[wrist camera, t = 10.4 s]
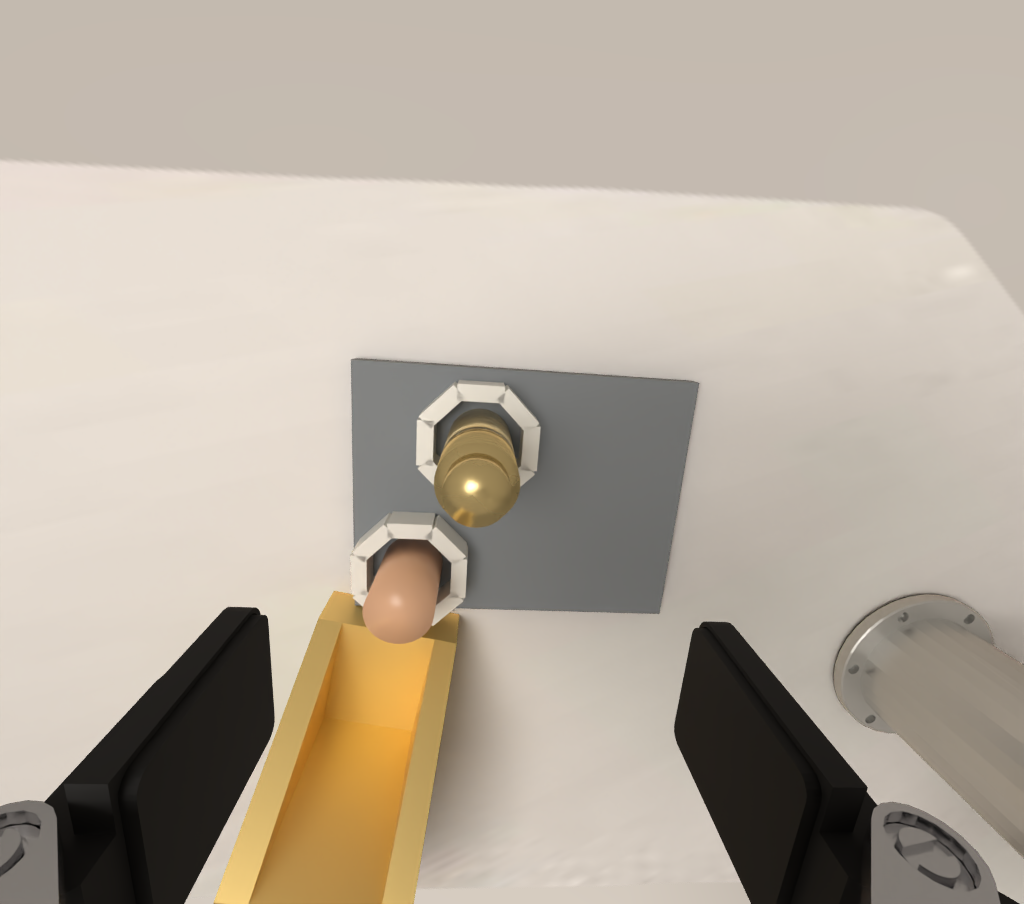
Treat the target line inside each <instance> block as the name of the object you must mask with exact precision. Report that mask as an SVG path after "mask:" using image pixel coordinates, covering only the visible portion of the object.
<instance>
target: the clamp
mask: <svg viewBox="0 0 1024 904" xmlns="http://www.w3.org/2000/svg"><path fill="white" fill-rule="evenodd" d="M353 596H354V595H351V594H348V593H343V592H338V591H334V592H333V593H332V595H331V597H330V599H329V601H328V602H327V604H326V606H325V608H324V610H323V611H322V613H321V615H320V617H319V619H318V621H317V624H316V627H315V629H314V632H313V635H312V638H311V640H310V643H309V646H308V648H307V651H306V654H305V656H304V659H303V662H302V665H301V667H300V670H299V673H298V675H297V678H296V681H295V684H294V686H293V689H292V692H291V694H290V697H289V700H288V702H287V705H286V708H285V711H284V713H283V716H282V719H281V721H280V724H279V727H278V730H277V732H276V735H275V738H274V740H273V743H272V746H271V749H270V751H269V754H268V757H267V759H266V762H265V765H264V767H263V770H262V773H261V776H260V778H259V781H258V784H257V786H256V789H255V792H254V795H253V797H252V800H251V803H250V805H249V808H248V811H247V814H246V816H245V819H244V822H243V824H242V827H241V830H240V832H239V835H238V838H237V841H236V843H235V846H234V849H233V851H232V854H231V857H230V860H229V862H228V865H227V868H226V870H225V873H224V876H223V878H222V881H221V884H220V887H219V889H218V892H217V895H216V897H215V900H214V904H414V898H415V892H416V886H417V880H418V874H419V868H420V862H421V856H422V850H423V844H424V838H425V832H426V826H427V820H428V814H429V808H430V802H431V796H432V790H433V784H434V778H435V772H436V766H437V760H438V754H439V748H440V742H441V736H442V730H443V724H444V718H445V712H446V706H447V700H448V694H449V688H450V682H451V676H452V670H453V664H454V658H455V652H456V646H457V636H458V623H459V614H454V613H448V614H447V615H446V616H445V617H443V618H442V619H441V620H440V621H439V622H437V623H436V624H435V625H434V626H432V625H431V627H430V629H429V630H428V631H427V633H426V634H424V635H423V636H422V637H421V638H419V639H417V640H415V641H413V642H410V643H405V644H393V643H388V642H385V641H383V640H380V639H379V638H377V637H376V636H374V635H373V634H372V633H371V632H370V631H369V630H368V628H367V627H366V625H365V622H364V619H363V613H362V612H363V607H362V606H359V605H355V600H354V599H353Z"/></svg>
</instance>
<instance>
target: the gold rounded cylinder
mask: <svg viewBox="0 0 1024 904" xmlns="http://www.w3.org/2000/svg"><path fill="white" fill-rule="evenodd" d="M434 490H435V495H436V498H437V500H438V502H439V504H440V505H441V507H442V508H443V509H444V510H445V511H446V512H447V513H448V514H449V515H450V517H451V518H452V519H454V520H455V521H456V522H458V523H460V524H462V525H464V526H467V527H473V528H481V527H486V526H489V525H492V524H494V523H495V522H497V521H498V520H500V519H501V518H502V517H503V516H504V515H505V514H506V513H508V512H509V511H510V509H511V508H512V507H513V506H514V504H515V502H516V500H517V498H518V495H519V492H520V475H519V471H518V466H517V462H516V458H515V453H514V449H513V445H512V440H511V436H510V432H509V429H508V426H507V424H506V423H505V421H504V420H503V419H502V418H501V417H500V416H499V415H498V414H496V413H494V412H492V411H490V410H486V409H472V410H469V411H466V412H464V413H462V414H461V415H460V416H458V417H457V418H456V419H455V421H454V422H453V424H452V426H451V428H450V431H449V434H448V437H447V440H446V442H445V445H444V448H443V451H442V454H441V457H440V460H439V463H438V466H437V469H436V472H435V476H434Z"/></svg>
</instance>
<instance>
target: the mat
mask: <svg viewBox="0 0 1024 904" xmlns="http://www.w3.org/2000/svg"><path fill="white" fill-rule="evenodd" d="M459 380H469V381H485V382H500V383H504V385H505V386H506V385H508V386H509V387H510V388H511V389H512V390H513V392H514V393H515V394H516V395H517V396H518V397H519V398H520V400H521V401H522V402H523V403H524V404H525V405H526V407H527V408H528V409H529V410H530V411H531V412H532V413H533V415H534V416H535V417H536V418H537V420H538V422H539V425H540V427H541V429H540V440H539V451H538V462H537V471H534V474H535V475H534V476H533V477H532V478H530V479H529V480H528V481H527V482H526V483H524V484H523V485H522V486H521V487H520V492H519V495H518V498H517V500H516V502H515V504H514V506H513V507H512V508H511V509H510V511H509V512H508V513H506V514H505V515H504V516H503V517H502V518H501V519H500V520H498V521H497V522H495V523H494V524H492V525H489V526H486V527H481V528H473V527H467V526H464V525H462V524H460V523H458V522H456V521H455V520H454V519H452V518H451V517H450V515H449V514H448V513H447V512H446V511H445V510H444V509H443V508H442V507H441V505H440V504H439V502H438V500H437V498H436V495H435V490H434V485H433V484H432V483H431V482H430V481H429V480H428V479H427V478H426V477H425V476H424V475H423V474H422V473H421V472H420V471H419V470H418V467H419V465H416V441H417V419H418V418H419V415H420V414H421V412H422V411H423V410H424V409H425V408H426V407H427V406H428V405H429V404H430V403H432V402H433V401H434V400H435V399H436V398H437V397H438V396H439V395H440V394H442V393H443V392H444V391H445V390H446V389H447V388H448V387H449V386H451V385H452V384H453V383H454V382H455V381H456V382H457V383H458V381H459ZM698 386H699V383H697V382H694V381H686V380H671V379H656V378H642V377H627V376H612V375H597V374H582V373H567V372H552V371H538V370H523V369H508V368H493V367H478V366H463V365H448V364H433V363H419V362H404V361H389V360H374V359H359V358H355V359H351V391H352V457H353V522H354V548H355V546H356V544H357V542H358V541H359V539H360V538H361V537H362V536H363V535H364V534H366V533H367V532H368V531H369V530H370V529H371V528H372V527H374V526H375V525H376V524H377V523H378V522H379V521H380V520H382V519H383V518H384V517H385V516H386V515H387V514H388V513H391V514H392V513H393V511H397V512H421V513H435V517H437V516H438V515H440V516H441V517H442V518H443V519H444V520H445V521H446V522H447V523H448V524H449V525H450V526H451V527H452V528H453V529H454V530H455V531H456V532H457V533H458V534H459V535H460V536H461V537H462V538H463V539H464V540H465V541H466V542H467V546H468V558H467V577H466V594H465V598H464V601H463V602H462V603H461V604H459V605H458V606H457V607H456V608H468V609H504V610H541V611H577V612H614V613H650V614H659V613H660V607H661V601H662V595H663V590H664V584H665V578H666V572H667V566H668V561H669V555H670V549H671V543H672V537H673V532H674V526H675V520H676V514H677V508H678V502H679V497H680V491H681V485H682V479H683V473H684V468H685V462H686V456H687V450H688V444H689V439H690V433H691V427H692V421H693V415H694V410H695V404H696V398H697V392H698ZM472 409H486V410H490V411H492V412H494V413H496V414H498V415H499V416H500V417H501V418H502V419H503V420H504V421H505V423H506V424H507V426H508V429H509V432H510V436H511V440H512V445H513V449H514V453H515V458H516V459H517V458H518V457H519V446H520V433H521V427H520V426H519V425H518V424H517V422H516V421H515V420H514V419H513V418H512V417H511V416H510V415H509V413H508V412H507V411H506V410H505V409H504V408H503V407H502V406H501V404H500V403H487V402H471V401H461V402H460V403H459V404H458V405H456V406H455V407H454V408H453V409H452V410H451V411H450V412H449V413H447V414H446V415H445V416H444V417H443V418H442V419H441V420H440V421H438V422H437V432H436V454H437V455H438V456H439V457H441V454H442V451H443V448H444V445H445V442H446V440H447V437H448V434H449V431H450V428H451V426H452V424H453V422H454V421H455V419H456V418H457V417H458V416H460V415H461V414H462V413H464V412H466V411H469V410H472ZM396 540H397V538H392V539H390V540H389V541H388V542H387V543H386V544H385V545H383V546H382V547H381V548H380V549H379V550H378V551H376V552H375V553H374V554H373V569H374V576H376V574H377V572H378V569H379V567H380V564H381V562H382V560H383V557H384V555H385V553H386V551H387V549H388V547H389V546H390V545H391V544H392V543H393V542H394V541H396ZM440 553H441V552H440ZM441 555H442V561H443V564H442V571H441V577H440V583H439V589H440V588H441V587H442V586H443V585H444V584H446V583H447V582H448V581H449V580H450V579H451V565H452V563H451V562H450V561H449V560H448V559H447V558H446V557H445V556H444V555H443V554H442V553H441ZM355 605H359V606H361V605H360V604H359V603H358V602H357V601H356V600H355Z"/></svg>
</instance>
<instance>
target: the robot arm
mask: <svg viewBox="0 0 1024 904" xmlns="http://www.w3.org/2000/svg"><path fill="white" fill-rule="evenodd" d="M834 687H835V691H836V694H837V697H838V699H839V701H840V702H841V704H842V705H843V707H844V708H845V709H846V710H847V711H848V712H849V713H850V714H851V715H852V716H853V717H854V719H855V720H857V721H858V722H859V723H861V724H862V725H864V726H865V727H868V728H870V729H873V730H875V731H879V732H885V733H897V734H898V735H899V736H900V737H901V738H902V739H903V740H904V741H905V742H906V743H907V744H908V745H909V746H910V747H911V748H912V749H913V750H914V751H915V752H916V753H917V754H918V755H919V756H920V757H921V758H922V759H923V760H924V761H925V762H926V763H927V764H928V765H929V766H930V767H931V768H932V769H933V770H934V771H935V772H936V773H937V774H938V775H939V776H940V777H941V778H943V779H944V780H945V781H946V782H947V783H948V784H949V785H950V786H951V787H952V788H953V789H954V790H955V791H956V792H957V793H958V794H959V795H960V796H961V797H962V798H963V799H964V800H965V801H966V802H967V803H968V804H969V805H970V806H971V807H972V808H973V809H974V810H975V811H976V812H977V813H978V814H979V815H980V816H981V817H982V818H983V819H984V820H985V821H986V822H987V823H988V824H989V825H990V826H991V827H992V828H993V829H994V830H995V831H996V832H997V833H998V834H999V835H1000V836H1001V837H1002V838H1003V839H1005V840H1006V841H1007V842H1008V843H1009V844H1010V845H1011V846H1012V847H1013V848H1014V849H1015V850H1016V851H1017V852H1018V853H1019V854H1020V855H1021V856H1022V857H1023V858H1024V664H1021V663H1020V662H1018V661H1017V660H1015V659H1013V658H1012V657H1010V656H1009V655H1007V654H1005V653H1004V652H1002V651H1001V650H999V649H997V648H996V647H994V642H993V637H992V633H991V630H990V628H989V626H988V624H987V622H986V621H985V620H984V619H983V618H982V617H981V616H980V614H979V613H978V612H976V611H974V610H973V609H971V608H970V607H968V606H966V605H965V604H963V603H961V602H959V601H957V600H955V599H953V598H950V597H946V596H941V595H928V594H924V595H917V596H910V597H906V598H903V599H900V600H897V601H894V602H892V603H890V604H888V605H886V606H884V607H881V608H880V609H878V610H877V611H875V612H874V613H872V614H871V615H869V616H868V617H866V618H865V619H864V620H863V621H862V622H861V623H860V624H859V625H858V626H857V627H856V628H855V629H854V630H853V631H852V633H851V634H850V635H849V636H848V638H847V639H846V641H845V643H844V644H843V646H842V648H841V650H840V652H839V655H838V658H837V660H836V663H835V670H834ZM273 727H274V702H273V687H272V672H271V657H270V641H269V626H268V618H267V616H265V615H260V611H259V609H257V608H249V607H227V608H226V609H225V610H223V611H222V612H221V614H220V615H219V616H218V617H217V618H216V619H215V620H214V621H213V622H212V623H211V624H210V625H209V627H208V628H207V629H206V630H205V631H204V632H203V633H202V634H201V635H200V636H199V637H198V639H197V640H196V641H195V642H194V643H193V644H192V645H191V646H190V647H189V648H188V649H187V650H186V652H185V653H184V654H183V655H182V656H181V657H180V658H179V659H178V660H177V661H176V662H175V664H174V665H173V666H172V667H171V668H170V669H169V670H168V671H167V672H166V673H165V674H164V675H163V676H162V677H161V678H160V679H158V680H157V681H156V682H155V683H154V684H153V685H152V686H151V687H150V688H149V690H148V691H147V692H146V693H145V694H144V695H143V696H142V697H141V698H140V699H139V700H138V701H137V703H136V704H135V705H134V706H133V707H132V708H131V709H130V710H129V711H128V712H127V713H126V714H125V715H124V717H123V718H122V719H121V720H120V721H119V722H118V723H117V724H116V725H115V726H114V727H113V728H112V729H111V731H110V732H109V733H108V734H107V735H106V736H105V737H104V738H103V739H102V740H101V741H100V742H99V744H98V745H97V746H96V747H95V748H94V749H93V750H92V751H91V752H90V753H89V754H88V755H87V756H86V758H85V759H84V760H83V761H82V762H81V763H80V764H79V765H78V766H77V767H76V768H75V769H74V771H73V772H72V773H71V774H70V775H69V776H68V777H67V778H66V779H65V780H64V781H63V782H62V783H61V785H60V786H59V787H58V788H57V789H56V790H55V791H54V792H53V793H52V794H51V795H50V796H49V798H48V799H47V800H46V801H45V802H42V801H30V800H27V801H21V802H15V803H9V804H6V805H3V806H0V904H184V903H185V901H186V899H187V897H188V895H189V893H190V891H191V889H192V888H193V886H194V884H195V882H196V880H197V878H198V876H199V874H200V872H201V870H202V868H203V866H204V864H205V863H206V861H207V859H208V857H209V855H210V853H211V851H212V849H213V847H214V845H215V843H216V841H217V840H218V838H219V836H220V834H221V832H222V830H223V828H224V826H225V824H226V822H227V820H228V818H229V816H230V815H231V813H232V811H233V809H234V807H235V805H236V803H237V801H238V799H239V797H240V795H241V793H242V792H243V790H244V788H245V786H246V784H247V782H248V780H249V778H250V776H251V774H252V772H253V770H254V768H255V767H256V765H257V763H258V761H259V759H260V757H261V755H262V753H263V751H264V749H265V747H266V745H267V744H268V742H269V740H270V737H271V735H272V732H273ZM674 732H675V738H676V741H677V744H678V746H679V749H680V751H681V753H682V755H683V757H684V759H685V762H686V764H687V766H688V768H689V770H690V772H691V775H692V777H693V779H694V781H695V783H696V785H697V788H698V790H699V792H700V794H701V796H702V798H703V800H704V803H705V805H706V807H707V809H708V811H709V813H710V816H711V818H712V820H713V822H714V824H715V826H716V829H717V831H718V833H719V835H720V837H721V839H722V842H723V844H724V846H725V848H726V850H727V852H728V855H729V857H730V859H731V861H732V863H733V865H734V868H735V870H736V872H737V874H738V876H739V878H740V881H741V883H742V885H743V887H744V889H745V891H746V893H747V896H748V898H749V900H750V902H751V904H1019V903H1017V902H1016V901H1014V900H1012V899H1010V898H1009V897H1007V896H1005V895H1004V894H1002V893H1000V892H998V891H997V887H996V883H995V880H994V878H993V876H992V873H991V871H990V869H989V867H988V866H987V864H986V863H985V862H984V860H983V859H982V857H981V856H980V855H979V853H978V852H977V851H976V850H975V849H974V848H973V847H972V846H971V845H970V844H969V843H968V842H967V841H966V840H965V839H964V838H963V837H962V836H961V835H959V834H958V833H957V832H955V831H954V830H953V829H951V828H950V827H949V826H948V825H946V824H945V823H944V822H942V821H940V820H938V819H937V818H935V817H933V816H932V815H930V814H928V813H926V812H924V811H922V810H919V809H917V808H914V807H912V806H909V805H906V804H901V803H896V802H888V803H881V804H880V805H877V804H876V803H875V802H874V801H873V799H872V798H871V797H870V796H869V794H868V793H867V792H866V791H867V788H868V787H867V786H866V785H865V784H864V782H863V781H862V780H861V779H860V778H859V776H858V775H857V774H856V773H855V772H854V770H853V769H852V768H851V767H850V766H849V764H848V763H847V762H846V761H845V760H844V758H843V757H842V756H841V755H840V754H839V752H838V751H837V750H836V749H835V748H834V746H833V745H832V744H831V743H830V742H829V740H828V739H827V738H826V737H825V735H824V734H823V733H822V732H821V731H820V729H819V728H818V727H817V726H816V725H815V723H814V722H813V721H812V720H811V719H810V717H809V716H808V715H807V714H806V713H805V711H804V710H803V709H802V708H801V707H800V705H799V704H798V703H797V702H796V701H795V699H794V698H793V697H792V696H791V695H790V693H789V692H788V691H787V690H786V689H785V687H784V686H783V685H782V684H781V683H780V681H779V680H778V679H777V678H776V677H775V675H774V674H773V673H772V672H771V671H770V669H769V668H768V667H767V666H766V665H765V663H764V662H763V661H762V660H761V659H760V657H759V656H758V655H757V654H756V653H755V651H754V650H753V649H752V648H751V647H750V645H749V644H748V643H747V642H746V641H745V639H744V638H743V637H742V636H741V635H740V633H739V632H738V631H737V630H736V629H735V627H734V626H733V625H732V624H731V623H728V622H702V623H701V625H700V627H699V628H695V629H694V630H693V633H692V637H691V642H690V647H689V652H688V658H687V663H686V668H685V673H684V678H683V683H682V688H681V693H680V699H679V704H678V709H677V714H676V719H675V725H674Z"/></svg>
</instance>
